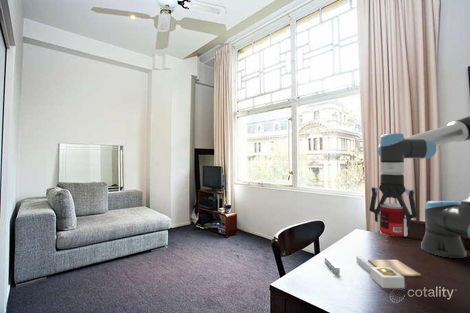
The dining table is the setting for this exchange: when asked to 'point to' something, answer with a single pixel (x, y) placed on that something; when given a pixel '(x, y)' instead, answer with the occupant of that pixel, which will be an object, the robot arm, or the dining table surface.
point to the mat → (395, 267)
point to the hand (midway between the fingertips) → (392, 232)
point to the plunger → (386, 271)
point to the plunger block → (387, 278)
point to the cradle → (336, 269)
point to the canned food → (392, 219)
